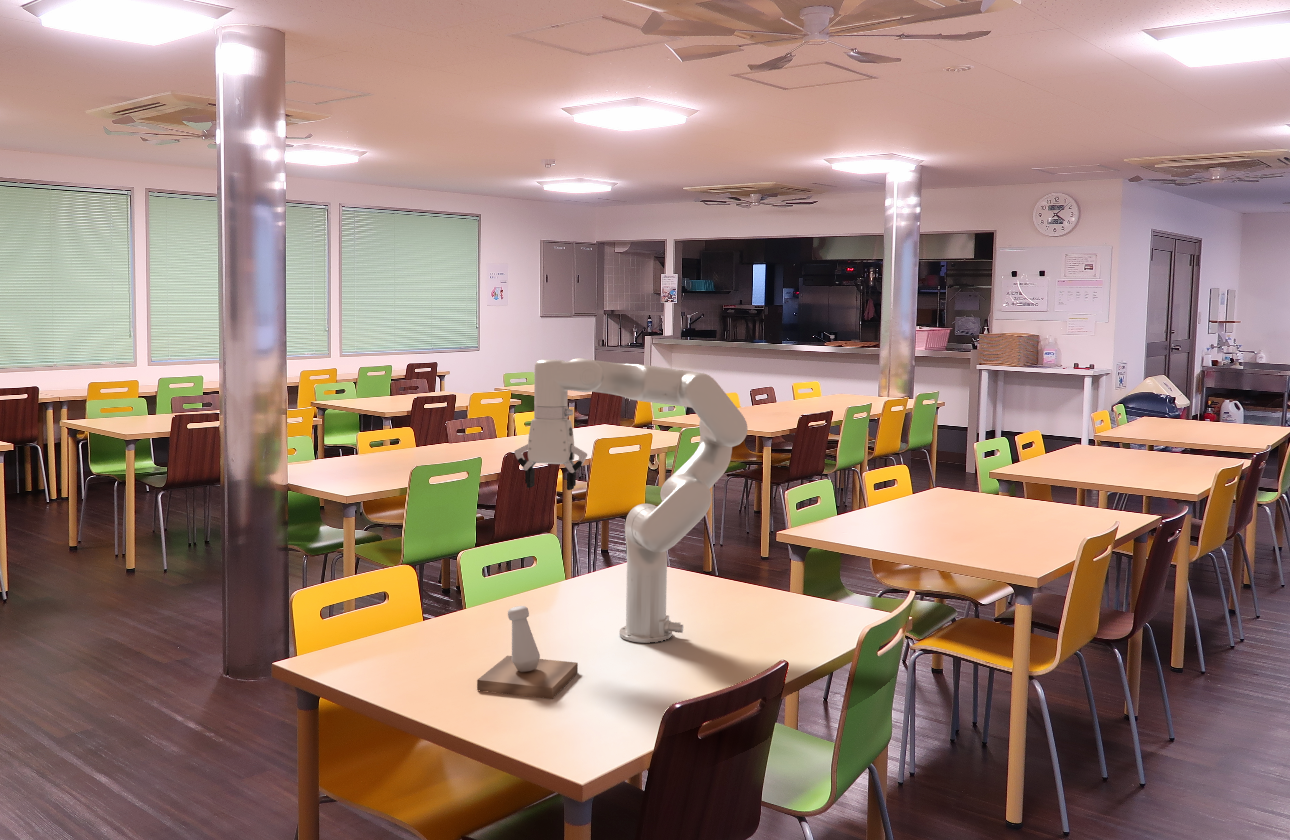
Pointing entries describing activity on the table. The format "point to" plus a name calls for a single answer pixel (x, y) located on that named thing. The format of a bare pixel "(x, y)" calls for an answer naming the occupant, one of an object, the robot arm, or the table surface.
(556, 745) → the table surface
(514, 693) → the walnut base
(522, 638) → the salt shaker
